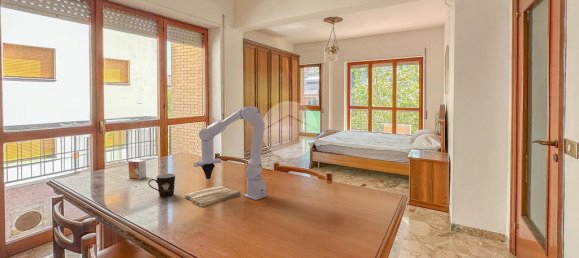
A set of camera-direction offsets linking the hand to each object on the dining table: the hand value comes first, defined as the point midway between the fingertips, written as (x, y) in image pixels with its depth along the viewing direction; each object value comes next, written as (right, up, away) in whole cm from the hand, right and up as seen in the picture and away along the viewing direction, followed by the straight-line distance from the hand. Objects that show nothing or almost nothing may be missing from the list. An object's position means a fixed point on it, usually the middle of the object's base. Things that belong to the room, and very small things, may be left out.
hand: (208, 178), depth 148 cm
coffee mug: (-21, -8, -3) cm, 23 cm away
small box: (-52, -5, +31) cm, 60 cm away
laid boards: (+7, -8, -8) cm, 14 cm away
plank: (0, -8, -2) cm, 8 cm away
